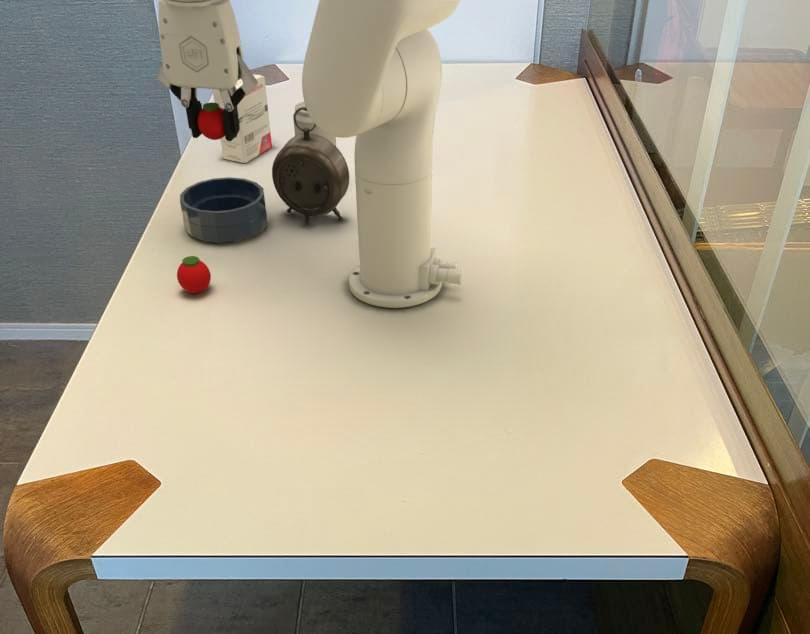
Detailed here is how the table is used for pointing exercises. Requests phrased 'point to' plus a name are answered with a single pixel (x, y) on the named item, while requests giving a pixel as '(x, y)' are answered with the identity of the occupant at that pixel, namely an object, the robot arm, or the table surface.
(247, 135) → the ink box
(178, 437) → the table surface
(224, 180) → the bowl
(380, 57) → the robot arm
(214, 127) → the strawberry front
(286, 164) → the alarm clock
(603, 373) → the table surface
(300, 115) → the beverage can
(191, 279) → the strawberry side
